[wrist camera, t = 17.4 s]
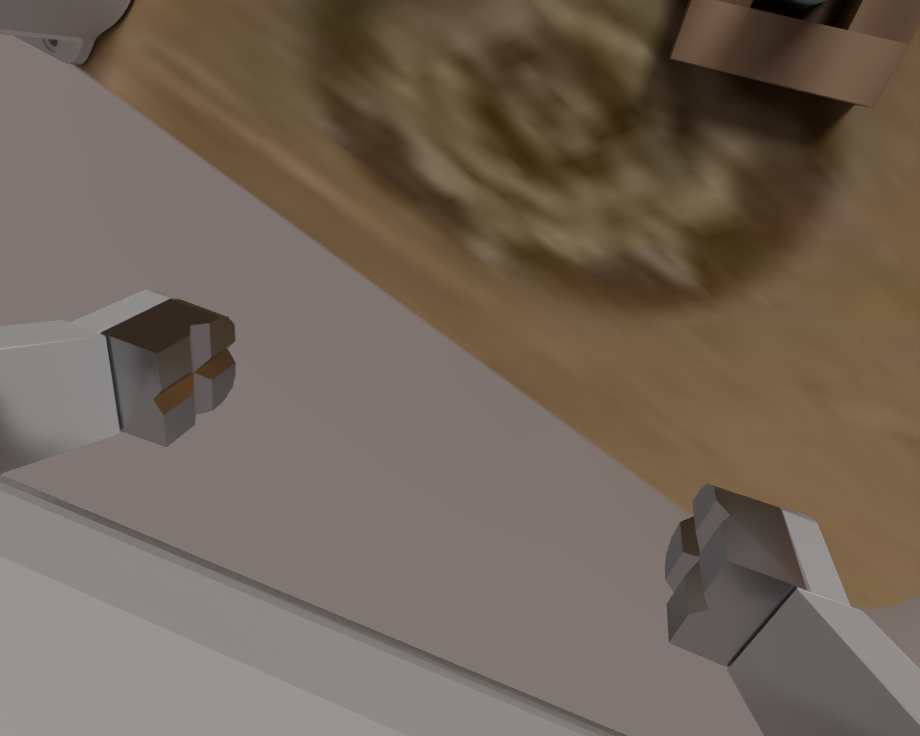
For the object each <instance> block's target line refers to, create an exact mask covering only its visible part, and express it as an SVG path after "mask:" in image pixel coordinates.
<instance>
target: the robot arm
mask: <svg viewBox="0 0 920 736" xmlns="http://www.w3.org/2000/svg"><path fill="white" fill-rule="evenodd" d="M130 1H131V0H0V34H7V35H14V36H16V37H18V38H20V39H22V40H23V41H25V42H27V43H29V44H31V45H33V46H35V47H37V48H39V49H40V50H42V51H44V52H46V53H48V54H50V55H52V56H54V57H55V58H57V59H59V60H61V61H63V62H65V63H70V64H77V65H80V64H83V63H84V62H85V61H86V59H87V58H88V56H89V54H90V52H91V50H92V47H93V45H94V42H95V39H96V38H97V37H98V36H99V35H100V34H101V33H102V32H104V31H105V30H107V29H108V28H110V27H111V26H112V25H114V24H115V23H116V22H117V21H118V20H119V19H120V18H121V16H122V15H123V14H124V12H125V10H126V9H127V7H128V5H129V3H130ZM234 342H235V327H234V323H233V322H232V321H231V320H230V319H229V317H226V316H224V315H221V314H218V313H216V312H213V311H210V310H208V309H205V308H202V307H200V306H197V305H194V304H191V303H189V302H186V301H183V300H180V299H177V298H175V297H172V296H169V295H167V294H164V293H160V292H158V291H153V290H143V291H141V292H139V293H136V294H134V295H132V296H130V297H127V298H125V299H123V300H120V301H118V302H116V303H114V304H111V305H109V306H107V307H104V308H102V309H100V310H97V311H95V312H93V313H90V314H88V315H86V316H84V317H81V318H79V319H77V320H74V321H72V322H70V323H69V322H66V321H63V320H55V321H45V322H34V323H24V324H14V325H3V326H0V474H1V473H4V472H7V471H10V470H13V469H16V468H19V467H22V466H25V465H28V464H30V463H34V462H37V461H40V460H43V459H46V458H49V457H52V456H55V455H58V454H61V453H64V452H67V451H70V450H73V449H76V448H78V447H81V446H85V445H88V444H91V443H93V442H96V441H99V440H102V439H105V438H108V437H111V436H114V435H117V434H120V433H121V432H120V431H123V432H125V433H128V434H131V435H134V436H137V437H139V438H142V439H145V440H148V441H151V442H154V443H156V444H159V445H162V446H165V447H167V446H169V445H170V444H171V443H172V442H174V441H175V440H176V439H177V438H179V437H180V436H181V435H182V434H184V433H185V432H186V431H188V430H189V429H190V428H191V427H193V426H194V425H195V418H196V414H201V413H205V412H208V411H212V410H214V409H215V408H216V407H217V406H219V405H220V404H221V403H222V402H223V401H224V400H225V398H226V397H227V395H228V393H229V392H230V390H231V389H232V387H233V382H234V379H235V370H236V369H235V368H236V367H235V366H236V364H235V361H234V359H233V357H232V356H231V354H230V352H229V350H228V348H229V347H230V346H231V345H232V344H233V343H234ZM692 503H693V512H694V516H693V517H691V518H689V519H686V520H684V521H681V522H680V523H679V525H678V527H677V529H676V530H675V532H674V534H673V536H672V538H671V541H670V544H669V547H668V551H667V554H666V563H665V580H666V581H667V583H668V584H669V586H670V587H671V589H672V590H673V591H674V593H673V595H672V596H671V598H670V599H669V601H668V603H667V618H668V634H669V643H671V644H673V645H676V646H678V647H680V648H683V649H685V650H688V651H690V652H692V653H695V654H697V655H700V656H702V657H704V658H707V659H709V660H712V661H714V662H716V663H719V664H721V665H723V666H726V667H728V669H727V671H728V672H729V674H730V676H731V678H732V679H733V681H734V683H735V685H736V687H737V688H738V690H739V692H740V694H741V695H742V697H743V699H744V701H745V703H746V704H747V706H748V708H749V710H750V711H751V713H752V715H753V717H754V719H755V720H756V722H757V724H758V726H759V727H760V729H761V731H762V733H763V734H764V736H920V669H919V668H918V667H917V666H916V665H915V664H914V663H913V662H912V661H911V660H910V659H909V658H908V657H907V656H906V655H905V654H904V653H903V652H902V651H901V650H900V648H898V647H897V645H895V643H893V642H892V640H891V639H890V638H889V637H888V636H886V635H885V633H884V632H883V631H882V630H881V629H880V628H879V627H878V626H877V625H876V624H875V623H874V622H873V621H872V620H871V619H870V618H869V617H868V616H867V615H866V614H865V613H864V612H863V611H861V610H858V609H855V608H853V607H851V606H850V604H849V601H848V599H847V596H846V594H845V591H844V589H843V586H842V584H841V581H840V579H839V576H838V574H837V571H836V569H835V566H834V564H833V561H832V559H831V556H830V554H829V551H828V549H827V546H826V544H825V541H824V539H823V536H822V534H821V531H820V529H819V526H818V524H817V522H816V521H815V520H814V519H812V518H811V517H810V516H807V515H804V514H801V513H798V512H795V511H791V510H788V509H785V508H782V507H779V506H773V505H770V504H767V503H764V502H761V501H758V500H755V499H752V498H749V497H746V496H743V495H740V494H737V493H734V492H731V491H728V490H725V489H722V488H719V487H716V486H713V485H710V484H706V485H705V486H704V487H703V488H702V489H700V491H699V492H698V494H697V495H696V497H695V498H694V500H693V502H692ZM0 736H627V735H625V734H622V733H620V732H617V731H615V730H613V729H610V728H608V727H605V726H603V725H601V724H598V723H596V722H593V721H591V720H589V719H586V718H584V717H581V716H579V715H577V714H574V713H572V712H569V711H567V710H564V709H562V708H560V707H557V706H555V705H552V704H550V703H548V702H545V701H543V700H541V699H538V698H536V697H533V696H531V695H529V694H526V693H524V692H521V691H519V690H517V689H514V688H512V687H509V686H507V685H505V684H502V683H500V682H497V681H495V680H493V679H490V678H488V677H485V676H483V675H480V674H478V673H476V672H473V671H471V670H468V669H466V668H464V667H461V666H459V665H456V664H454V663H452V662H449V661H447V660H445V659H442V658H440V657H437V656H435V655H432V654H430V653H427V652H425V651H423V650H421V649H418V648H415V647H413V646H411V645H408V644H406V643H403V642H401V641H399V640H396V639H394V638H392V637H389V636H387V635H384V634H382V633H380V632H377V631H375V630H372V629H370V628H368V627H365V626H363V625H360V624H358V623H356V622H353V621H351V620H348V619H346V618H344V617H341V616H339V615H336V614H334V613H331V612H329V611H327V610H324V609H322V608H320V607H317V606H315V605H312V604H310V603H307V602H305V601H303V600H300V599H298V598H295V597H293V596H291V595H288V594H286V593H283V592H281V591H279V590H276V589H274V588H271V587H269V586H267V585H264V584H262V583H259V582H257V581H255V580H252V579H250V578H247V577H245V576H243V575H240V574H238V573H235V572H233V571H231V570H228V569H226V568H223V567H221V566H218V565H216V564H214V563H212V562H209V561H206V560H204V559H202V558H199V557H197V556H195V555H192V554H190V553H188V552H185V551H183V550H180V549H178V548H175V547H173V546H170V545H168V544H166V543H164V542H161V541H159V540H156V539H154V538H152V537H149V536H146V535H144V534H142V533H139V532H137V531H135V530H132V529H130V528H128V527H125V526H123V525H120V524H118V523H116V522H113V521H111V520H108V519H106V518H103V517H101V516H99V515H96V514H94V513H91V512H89V511H87V510H84V509H82V508H79V507H77V506H75V505H72V504H70V503H68V502H65V501H63V500H60V499H58V498H56V497H53V496H51V495H48V494H46V493H44V492H41V491H39V490H36V489H34V488H32V487H29V486H27V485H24V484H22V483H19V482H17V481H15V480H12V479H10V478H7V477H5V476H3V475H0Z"/></svg>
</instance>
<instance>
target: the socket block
mask: <svg viewBox="0 0 920 736" xmlns="http://www.w3.org/2000/svg"><path fill="white" fill-rule="evenodd" d="M752 2H753V0H689V2H688V5H687V8H686V11H685V13H684V16H683V19H682V22H681V25H680V27H679V30H678V33H677V36H676V38H675V41H674V44H673V47H672V50H671V52H670V55H669V58H668V59H670V60H674V61H678V62H682V63H686V64H690V65H694V66H698V67H702V68H707V69H711V70H715V71H719V72H723V73H727V74H731V75H735V76H739V77H743V78H747V79H752V80H756V81H760V82H764V83H768V84H772V85H776V86H780V87H784V88H788V89H793V90H797V91H801V92H805V93H809V94H813V95H817V96H821V97H825V98H829V99H833V100H838V101H842V102H846V103H850V104H854V105H860V106H866V107H872V108H874V106H875V104H876V103H877V101H878V99H879V97H880V95H881V94H882V92H883V90H884V88H885V86H886V85H887V83H888V81H889V79H890V77H891V76H892V74H893V72H894V70H895V68H896V67H897V65H898V63H899V61H900V59H901V58H902V56H903V54H904V52H905V50H906V49H907V47H908V45H909V43H910V42H911V40H912V38H913V36H914V34H915V33H916V31H917V29H918V27H919V25H920V0H847V1H846V3H845V5H844V7H843V9H842V11H841V14H840V16H839V18H838V20H837V22H836V24H835V26H834V27H831V26H827V25H822V24H818V23H814V22H809V21H805V20H800V19H796V18H792V17H787V16H783V15H778V14H774V13H769V12H765V11H761V10H756V9H752V8H750V6H751V4H752Z"/></svg>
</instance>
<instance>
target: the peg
mask: <svg viewBox="0 0 920 736" xmlns="http://www.w3.org/2000/svg"><path fill="white" fill-rule="evenodd" d="M776 1H777V2H778V3H779V4H780V5H782V6H784V7H786V8H789V9H804V8H808V7H811V6H814V5H816V4H819V3H822V2H825V1H827V0H776Z"/></svg>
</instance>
